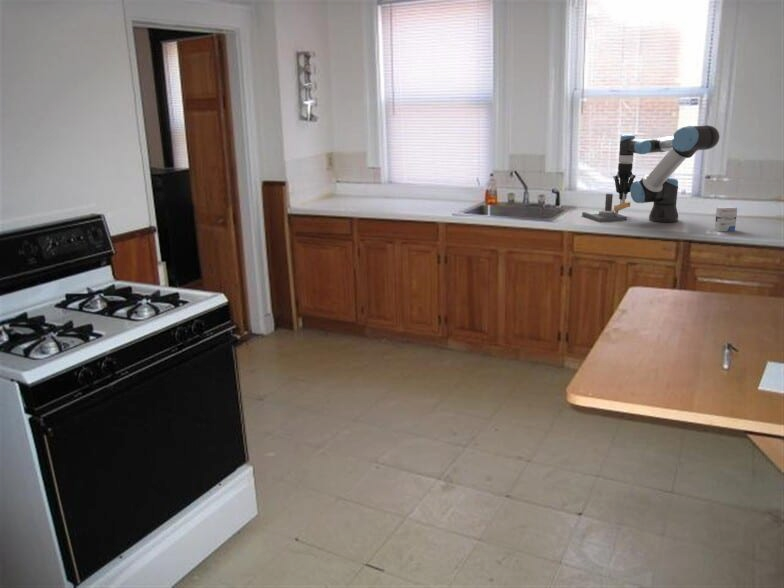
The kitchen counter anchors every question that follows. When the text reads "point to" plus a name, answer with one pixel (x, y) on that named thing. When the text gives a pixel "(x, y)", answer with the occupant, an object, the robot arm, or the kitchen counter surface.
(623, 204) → the clip
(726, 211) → the ink box
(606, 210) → the plug
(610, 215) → the socket board
